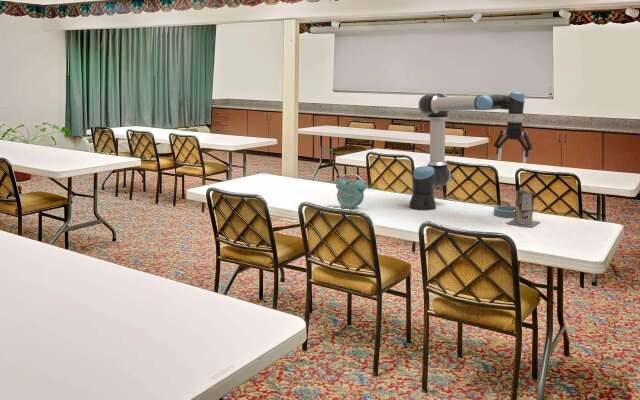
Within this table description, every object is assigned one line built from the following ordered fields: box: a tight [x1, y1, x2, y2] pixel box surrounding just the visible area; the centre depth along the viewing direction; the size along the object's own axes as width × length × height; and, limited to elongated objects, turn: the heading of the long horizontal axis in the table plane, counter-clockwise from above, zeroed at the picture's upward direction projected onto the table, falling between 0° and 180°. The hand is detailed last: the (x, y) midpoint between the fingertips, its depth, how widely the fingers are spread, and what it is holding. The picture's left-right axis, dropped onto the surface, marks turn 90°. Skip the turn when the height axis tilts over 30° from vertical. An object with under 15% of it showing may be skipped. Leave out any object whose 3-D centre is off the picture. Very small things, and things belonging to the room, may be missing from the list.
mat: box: [506, 218, 541, 229], centre depth 320 cm, size 13×13×1 cm
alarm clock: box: [335, 173, 367, 210], centre depth 354 cm, size 17×10×20 cm, turn 68°
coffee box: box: [513, 189, 535, 224], centre depth 318 cm, size 9×6×16 cm
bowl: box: [493, 205, 515, 219], centre depth 339 cm, size 16×16×4 cm
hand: (511, 161), depth 329 cm, fingers open, 13 cm apart
